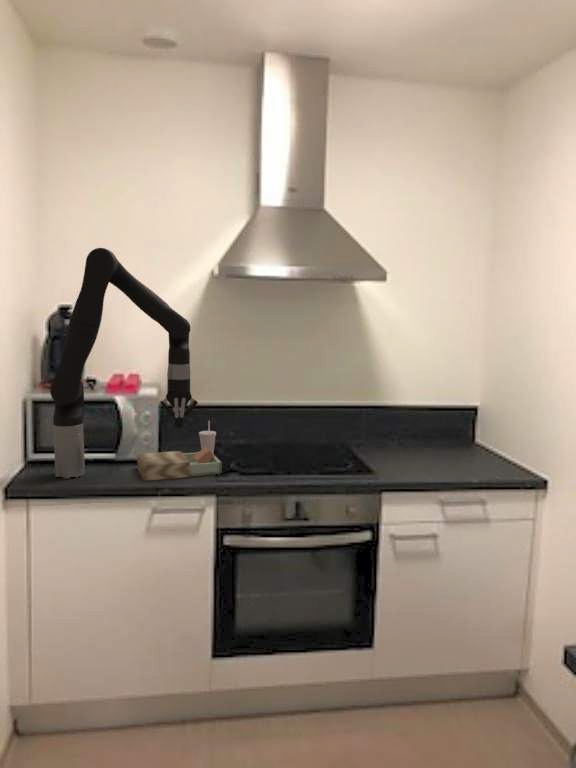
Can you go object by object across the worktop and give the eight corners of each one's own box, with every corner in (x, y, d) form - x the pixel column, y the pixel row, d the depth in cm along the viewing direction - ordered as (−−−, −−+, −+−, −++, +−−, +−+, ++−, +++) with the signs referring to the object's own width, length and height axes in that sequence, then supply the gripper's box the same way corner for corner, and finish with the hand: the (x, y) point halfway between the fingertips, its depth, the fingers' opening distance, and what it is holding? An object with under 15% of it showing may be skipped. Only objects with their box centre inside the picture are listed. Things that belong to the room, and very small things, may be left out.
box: (190, 476, 213) (190, 465, 212) (181, 464, 228) (181, 453, 227) (221, 474, 216) (221, 462, 216) (210, 462, 231) (210, 451, 231)
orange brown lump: (209, 450, 221) (214, 456, 222) (205, 446, 226) (210, 452, 228) (197, 460, 220) (202, 466, 221) (193, 456, 225) (198, 463, 226)
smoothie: (213, 461, 233) (213, 422, 231) (196, 459, 234) (196, 422, 232) (218, 456, 239) (218, 419, 237) (202, 455, 241) (201, 418, 239)
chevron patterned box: (143, 480, 208) (143, 465, 207) (137, 468, 222) (137, 454, 222) (190, 476, 213) (189, 462, 212) (180, 464, 228) (180, 450, 227)
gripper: (160, 378, 209) (160, 431, 212) (200, 378, 214) (200, 429, 216) (157, 376, 216) (156, 426, 219) (196, 375, 221) (195, 425, 223)
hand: (178, 428), depth 217 cm, fingers closed
